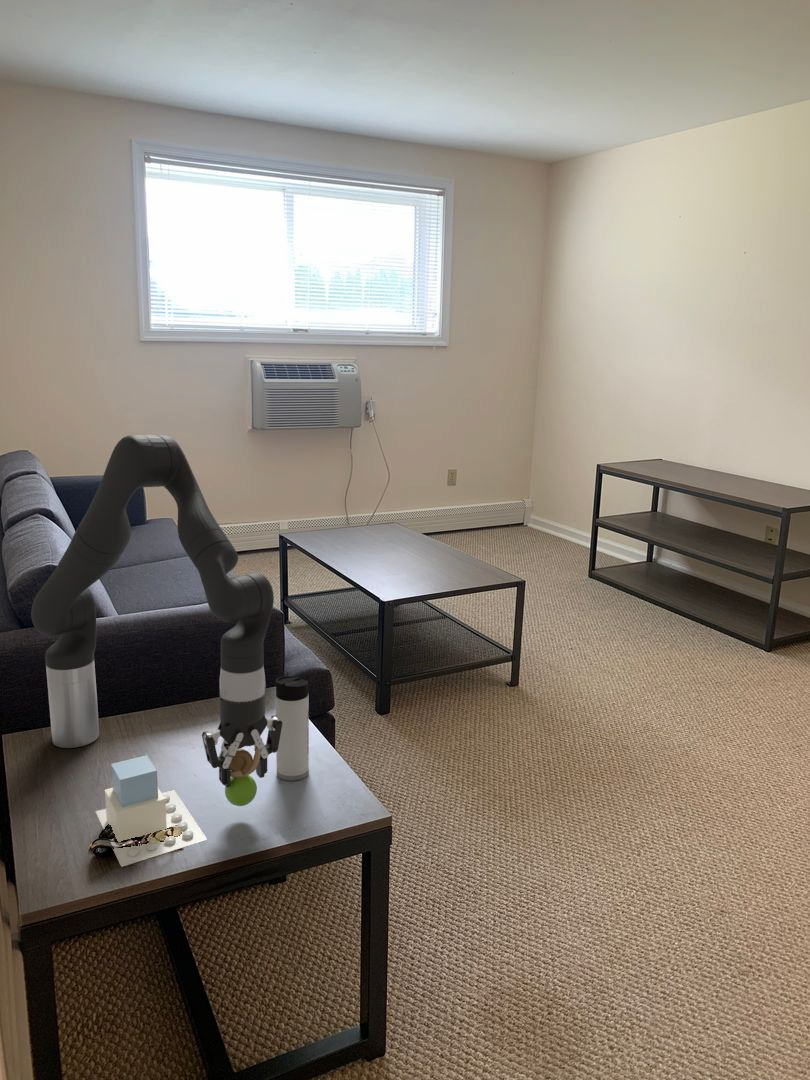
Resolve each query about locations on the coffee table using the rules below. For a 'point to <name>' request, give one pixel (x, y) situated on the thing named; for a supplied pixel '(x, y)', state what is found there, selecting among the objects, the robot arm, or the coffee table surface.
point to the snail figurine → (242, 777)
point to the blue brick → (134, 780)
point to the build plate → (174, 816)
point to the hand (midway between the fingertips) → (243, 779)
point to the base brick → (135, 816)
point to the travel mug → (293, 727)
